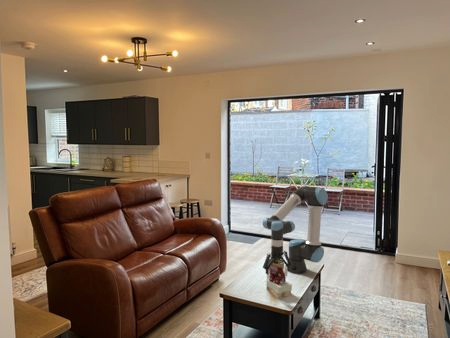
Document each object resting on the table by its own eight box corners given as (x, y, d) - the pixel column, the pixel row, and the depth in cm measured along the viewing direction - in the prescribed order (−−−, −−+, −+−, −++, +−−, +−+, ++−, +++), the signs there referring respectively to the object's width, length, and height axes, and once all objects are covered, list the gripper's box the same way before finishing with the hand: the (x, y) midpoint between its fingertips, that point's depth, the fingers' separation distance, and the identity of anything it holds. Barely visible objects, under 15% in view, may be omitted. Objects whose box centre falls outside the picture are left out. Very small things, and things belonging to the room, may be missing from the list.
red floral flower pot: (281, 286, 222) (281, 270, 221) (266, 280, 231) (266, 265, 230) (288, 283, 226) (288, 267, 225) (273, 277, 236) (273, 262, 235)
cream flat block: (278, 282, 237) (278, 276, 237) (291, 290, 225) (291, 284, 224) (266, 285, 233) (266, 279, 232) (278, 293, 220) (278, 287, 220)
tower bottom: (279, 287, 238) (279, 281, 238) (290, 296, 225) (290, 290, 225) (266, 290, 234) (266, 284, 234) (277, 299, 221) (277, 293, 221)
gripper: (290, 241, 234) (290, 272, 236) (257, 245, 226) (257, 277, 228) (296, 244, 227) (296, 276, 229) (262, 249, 219) (262, 282, 221)
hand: (277, 277), depth 228 cm, fingers open, 12 cm apart
